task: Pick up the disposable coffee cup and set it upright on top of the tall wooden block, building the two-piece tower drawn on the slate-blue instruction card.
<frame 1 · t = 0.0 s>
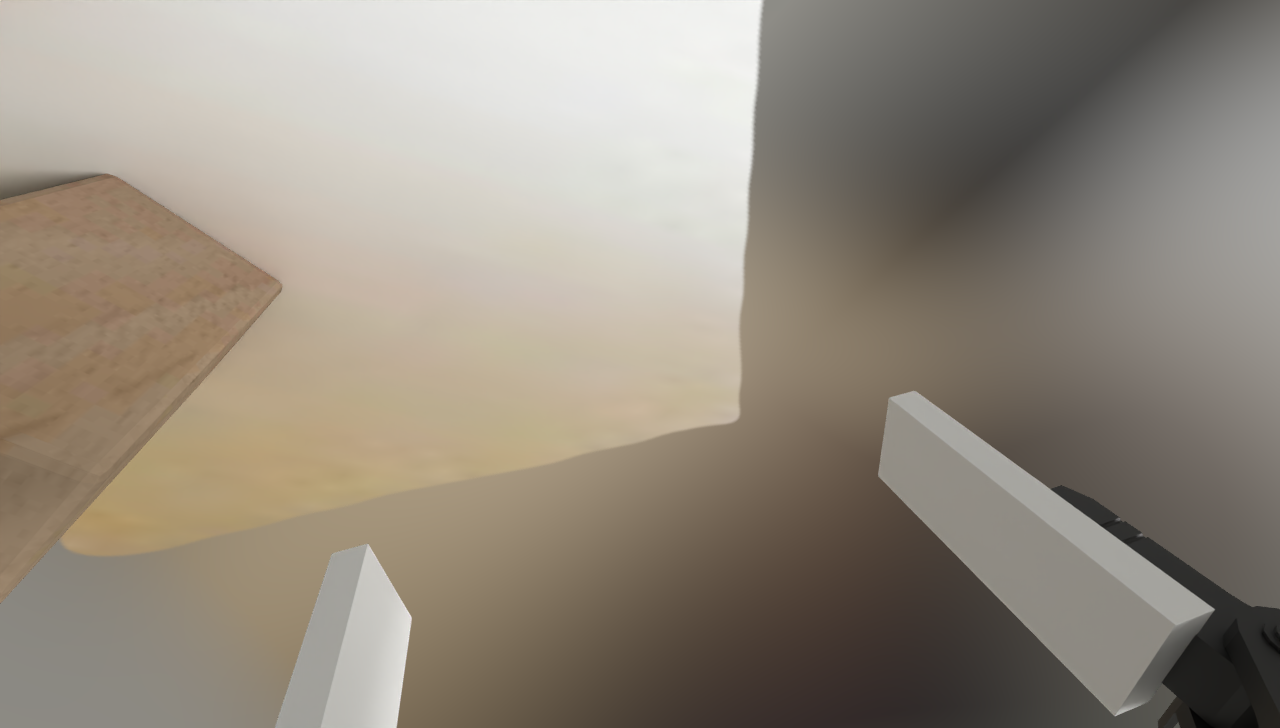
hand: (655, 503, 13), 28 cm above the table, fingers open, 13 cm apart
wooden block: (160, 287, 32), on the table, touching instruction card
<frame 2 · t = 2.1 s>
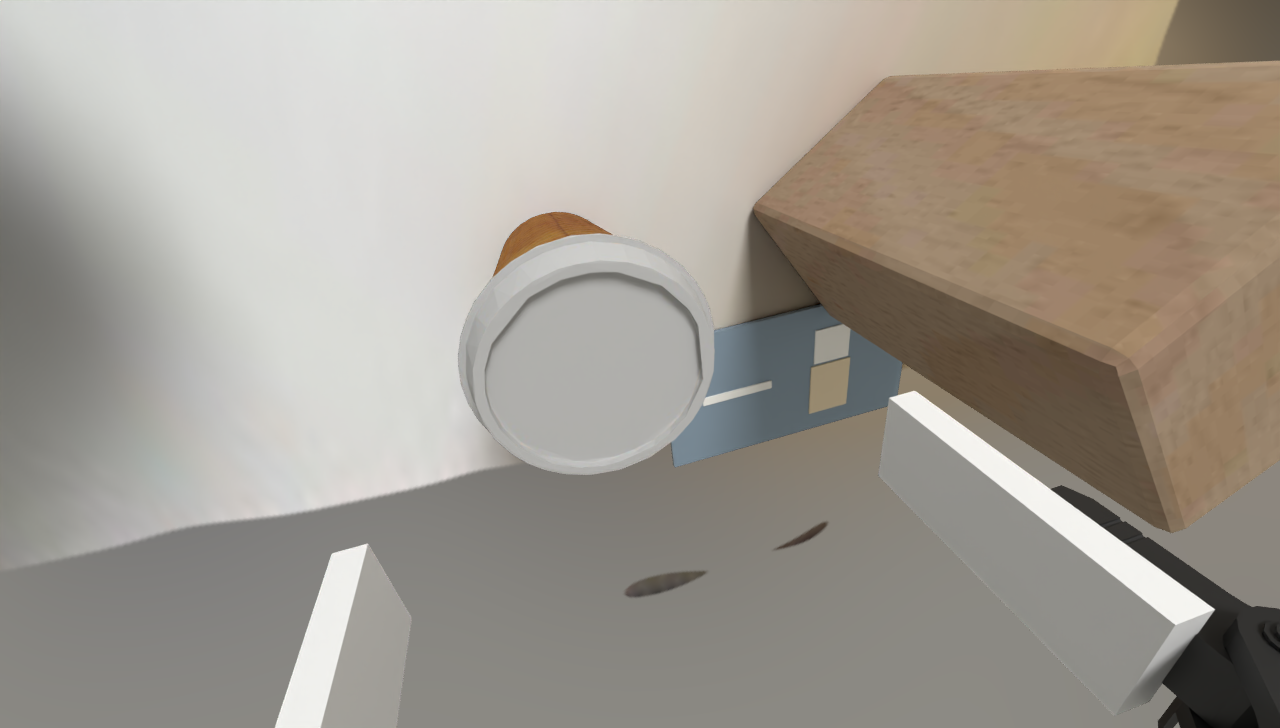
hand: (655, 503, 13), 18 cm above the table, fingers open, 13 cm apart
instruction card: (788, 376, 36), on the table
wooden block: (852, 206, 31), on the table, touching instruction card
disposable coffee cup: (558, 268, 28), on the table
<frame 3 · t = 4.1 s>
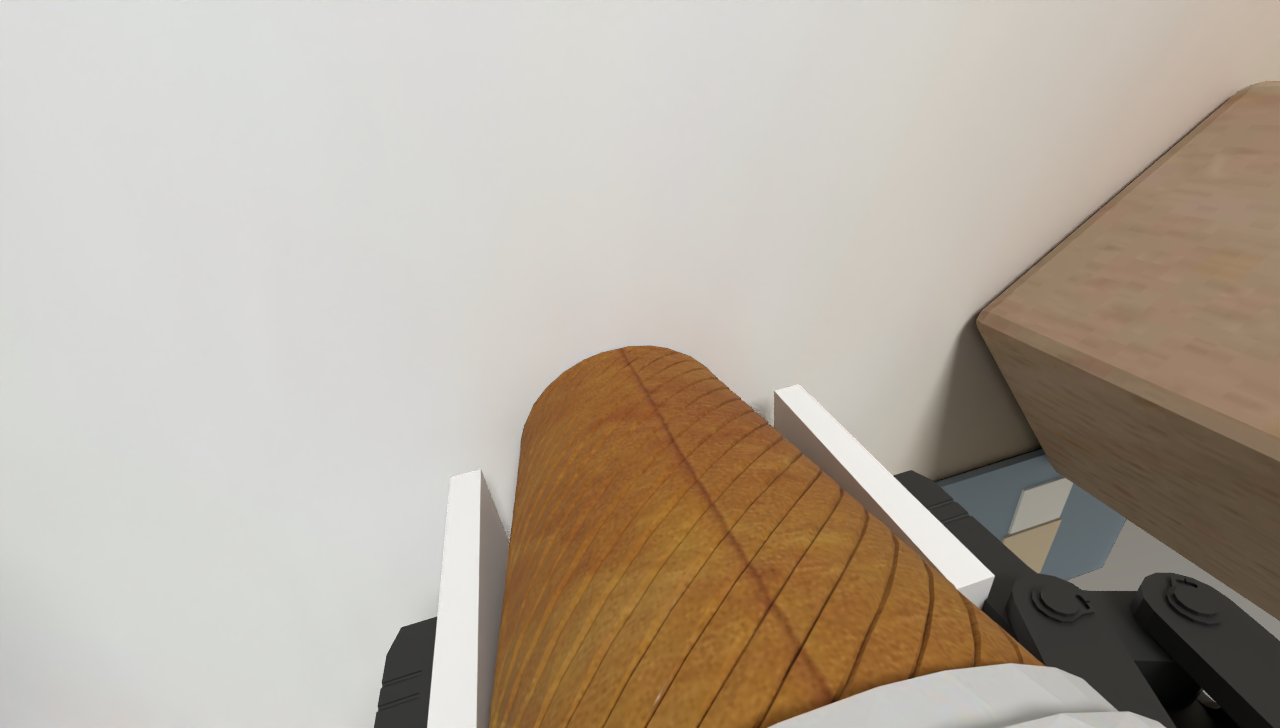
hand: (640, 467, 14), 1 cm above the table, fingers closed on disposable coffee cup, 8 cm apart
instruction card: (966, 549, 23), on the table
wooden block: (1123, 304, 18), on the table, touching instruction card
disposable coffee cup: (627, 435, 15), on the table, touching gripper
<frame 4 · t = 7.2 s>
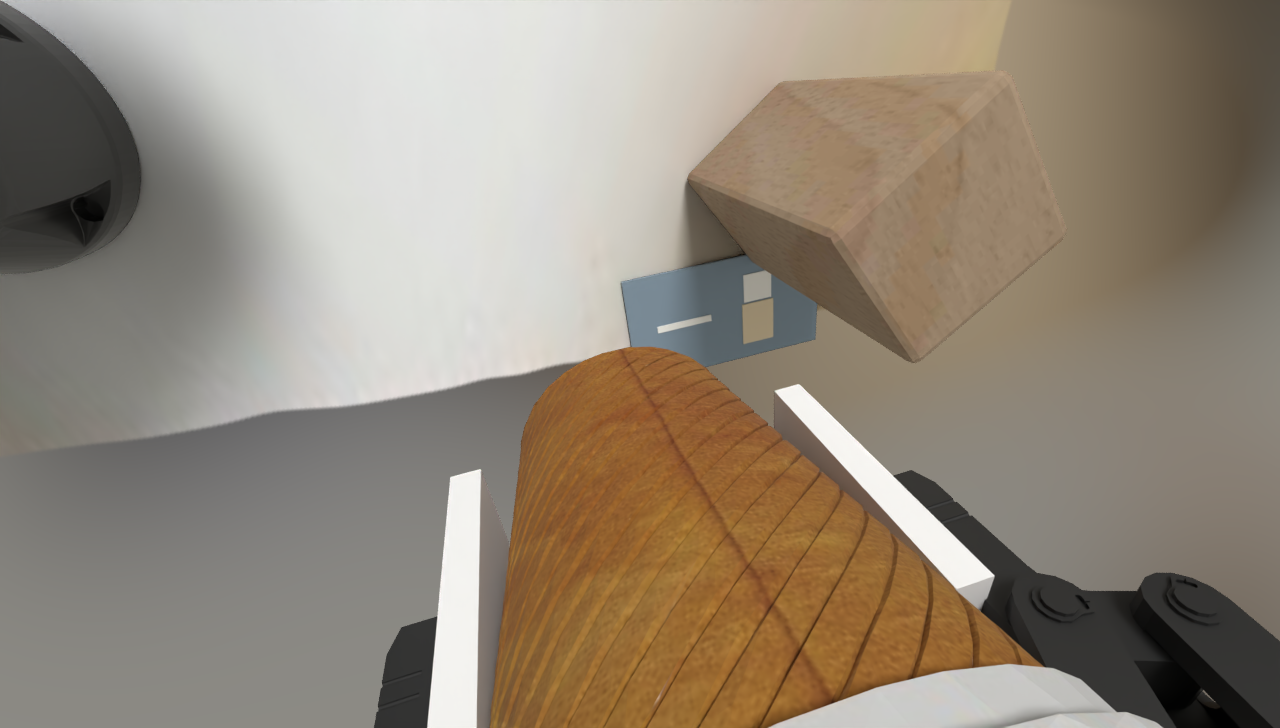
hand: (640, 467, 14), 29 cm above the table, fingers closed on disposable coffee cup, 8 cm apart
instruction card: (725, 312, 47), on the table
wooden block: (765, 178, 42), on the table, touching instruction card
disposable coffee cup: (627, 436, 16), point 28 cm above the table, touching gripper
when the fingers open (21 cm above the table, at t = 10.2 s): disposable coffee cup stays where it is, resting on wooden block.
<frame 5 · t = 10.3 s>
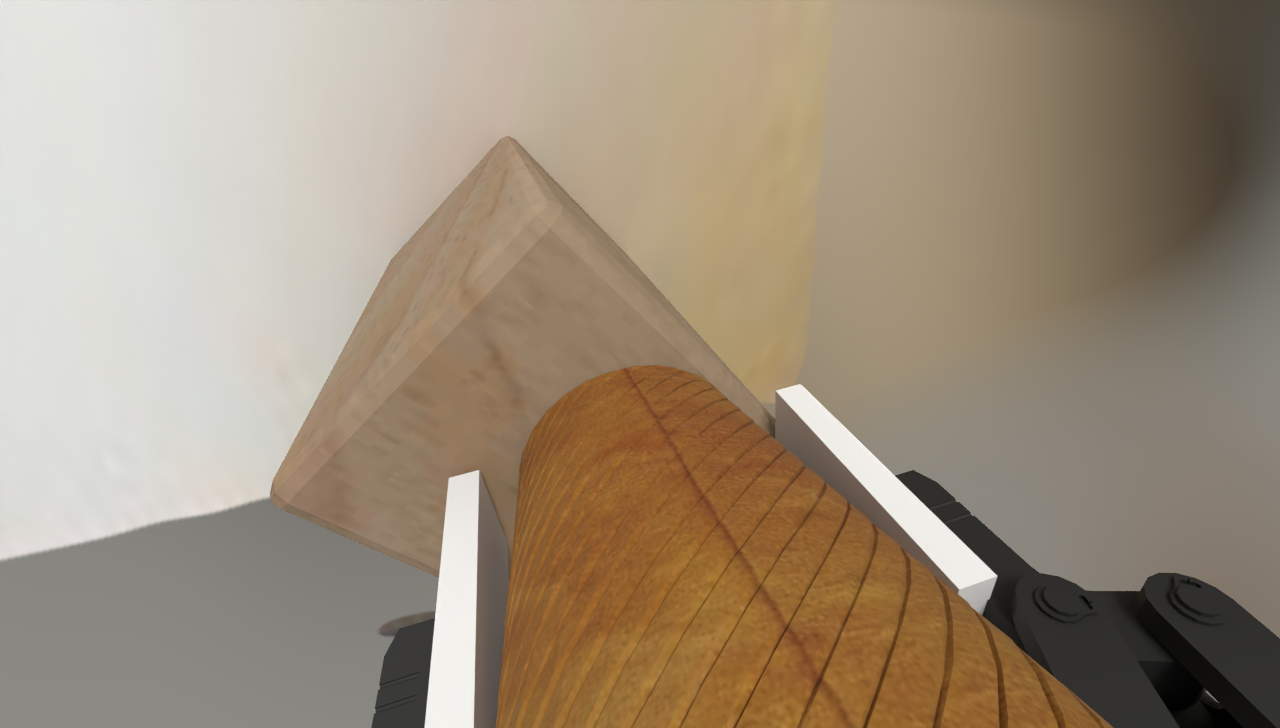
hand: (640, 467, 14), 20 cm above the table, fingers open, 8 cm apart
wooden block: (515, 259, 31), on the table, touching disposable coffee cup, gripper, instruction card
disposable coffee cup: (632, 459, 15), point 20 cm above the table, touching wooden block
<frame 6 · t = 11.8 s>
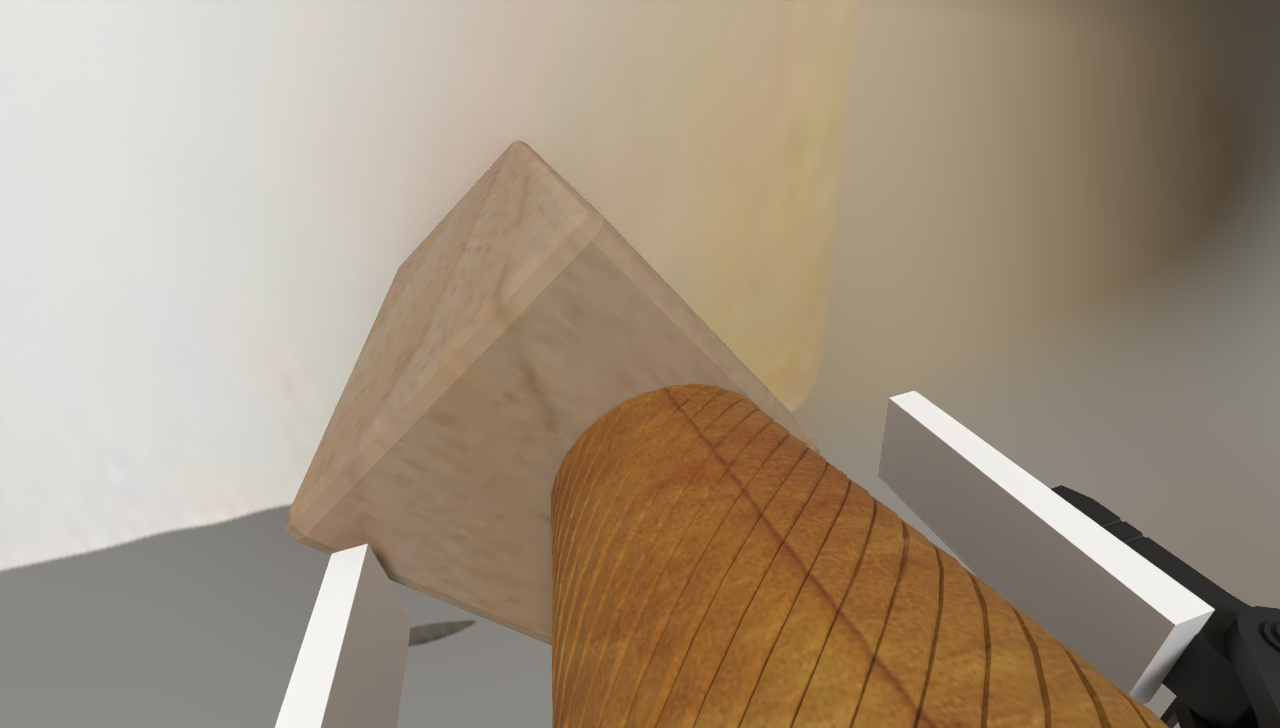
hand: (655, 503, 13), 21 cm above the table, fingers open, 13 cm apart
wooden block: (525, 266, 30), on the table, touching disposable coffee cup, instruction card
disposable coffee cup: (667, 481, 14), point 20 cm above the table, touching wooden block
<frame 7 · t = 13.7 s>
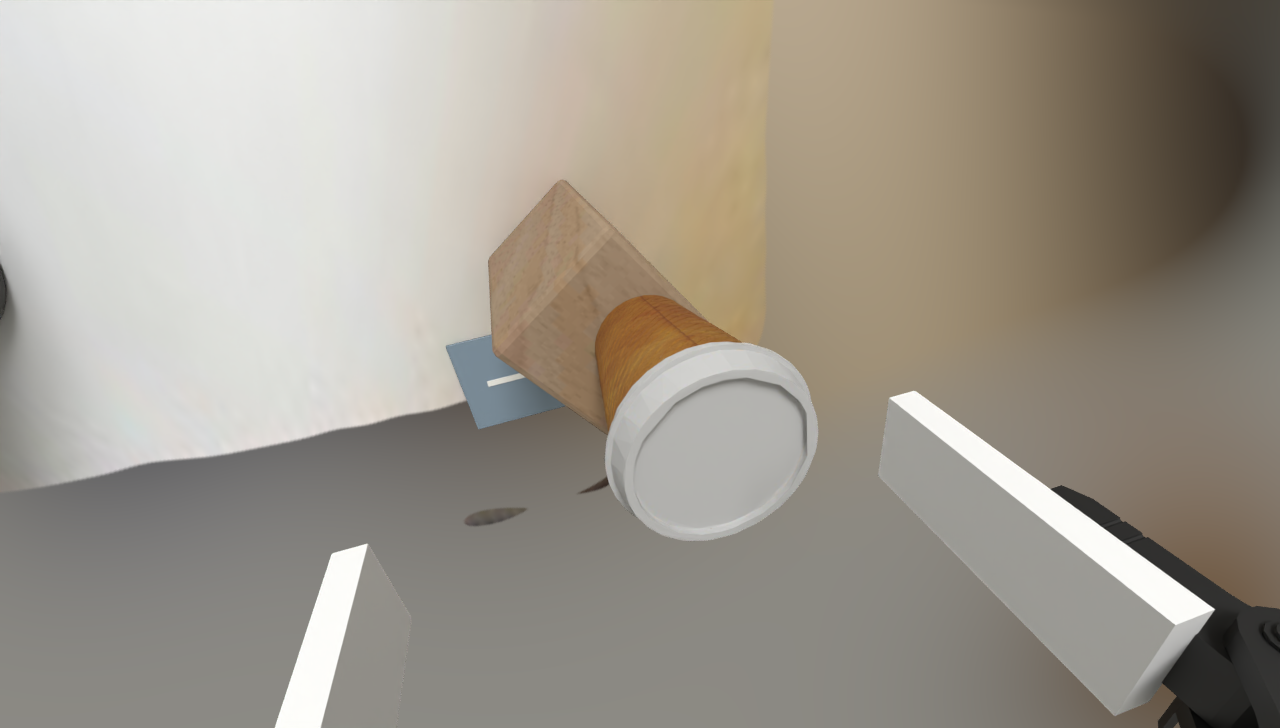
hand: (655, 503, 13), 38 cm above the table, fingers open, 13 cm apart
instruction card: (550, 366, 53), on the table
wooden block: (564, 255, 48), on the table, touching disposable coffee cup, instruction card
disposable coffee cup: (644, 342, 32), point 20 cm above the table, touching wooden block
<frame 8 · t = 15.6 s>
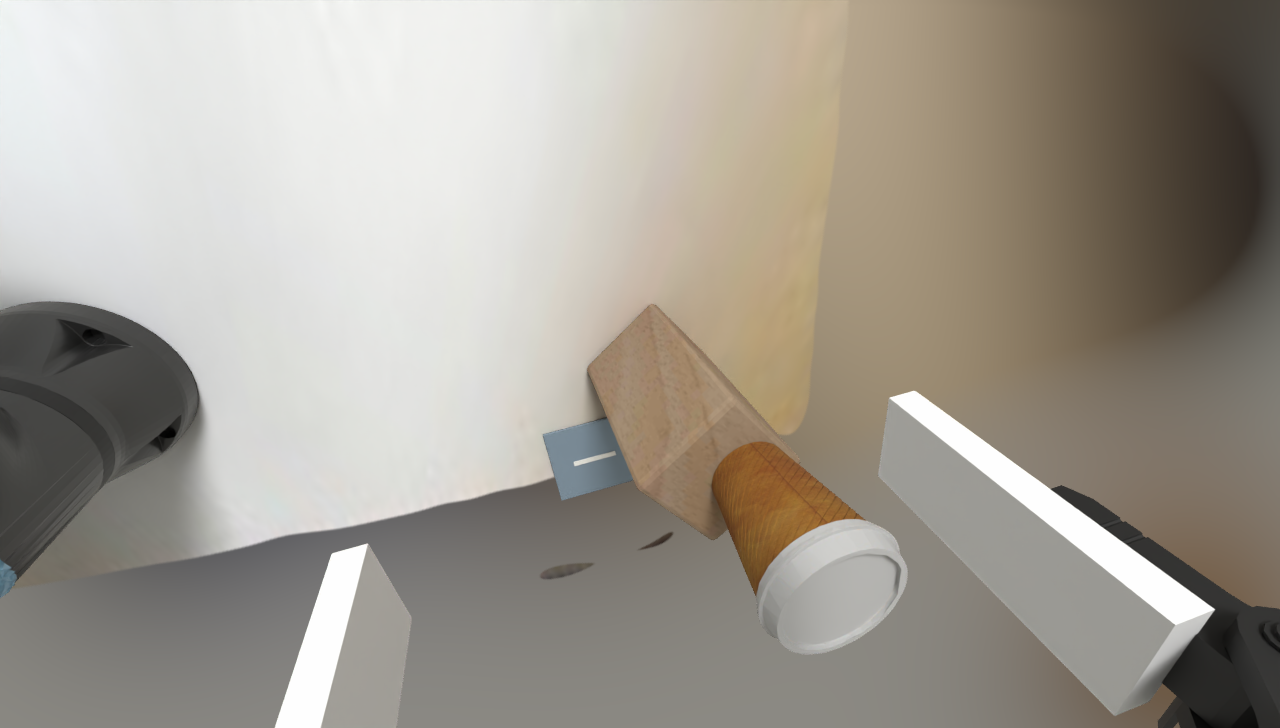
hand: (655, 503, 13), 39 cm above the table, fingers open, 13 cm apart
instruction card: (626, 447, 62), on the table
wooden block: (647, 361, 57), on the table, touching disposable coffee cup, instruction card
disposable coffee cup: (747, 472, 40), point 20 cm above the table, touching wooden block
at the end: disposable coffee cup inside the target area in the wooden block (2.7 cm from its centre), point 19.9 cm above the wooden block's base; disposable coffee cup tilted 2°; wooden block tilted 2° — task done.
